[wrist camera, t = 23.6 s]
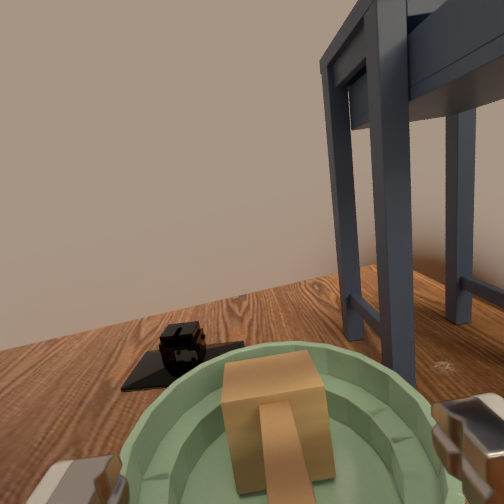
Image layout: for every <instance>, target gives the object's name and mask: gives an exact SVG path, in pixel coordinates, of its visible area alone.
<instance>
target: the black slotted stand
mask: <svg viewBox="0 0 504 504" xmlns="http://www.w3.org/2000/svg"><path fill="white" fill-rule="evenodd" d="M159 338H160V342H161V343H160V344H159V350H153V351H147V352H146V353H145V354H144V356H143V357H142V359H141V360H140V361H139V363H138V364H137V366H136V367H135V369H134V370H133V371H132V373H131V374H130V376H129V377H128V378H127V380H126V381H125V383H124V384H123V385H122V387H121V391H122V392H126V391H136V390H146V389H157V388H167V387H169V386H170V385H171V384H172V383H173V382H174V381H176V380H177V379H179V378H180V377H182V376H183V375H185V374H186V373H188V372H189V371H191V370H192V369H194V368H195V367H197V366H198V365H200V364H202V363H204V362H206V361H208V360H211V359H213V358H215V357H218V356H220V355H222V354H225V353H227V352H229V351H232V350H236V349H240V348H244V341H236V342H227V343H218V344H209V345H206V343H205V334H204V333H203V328H200V326H199V321H195V322H186V323H177V324H169V325H168V326H167V327H166V329H165V330H164V332H163V333H162V334H161V336H160V337H159Z"/></svg>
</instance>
